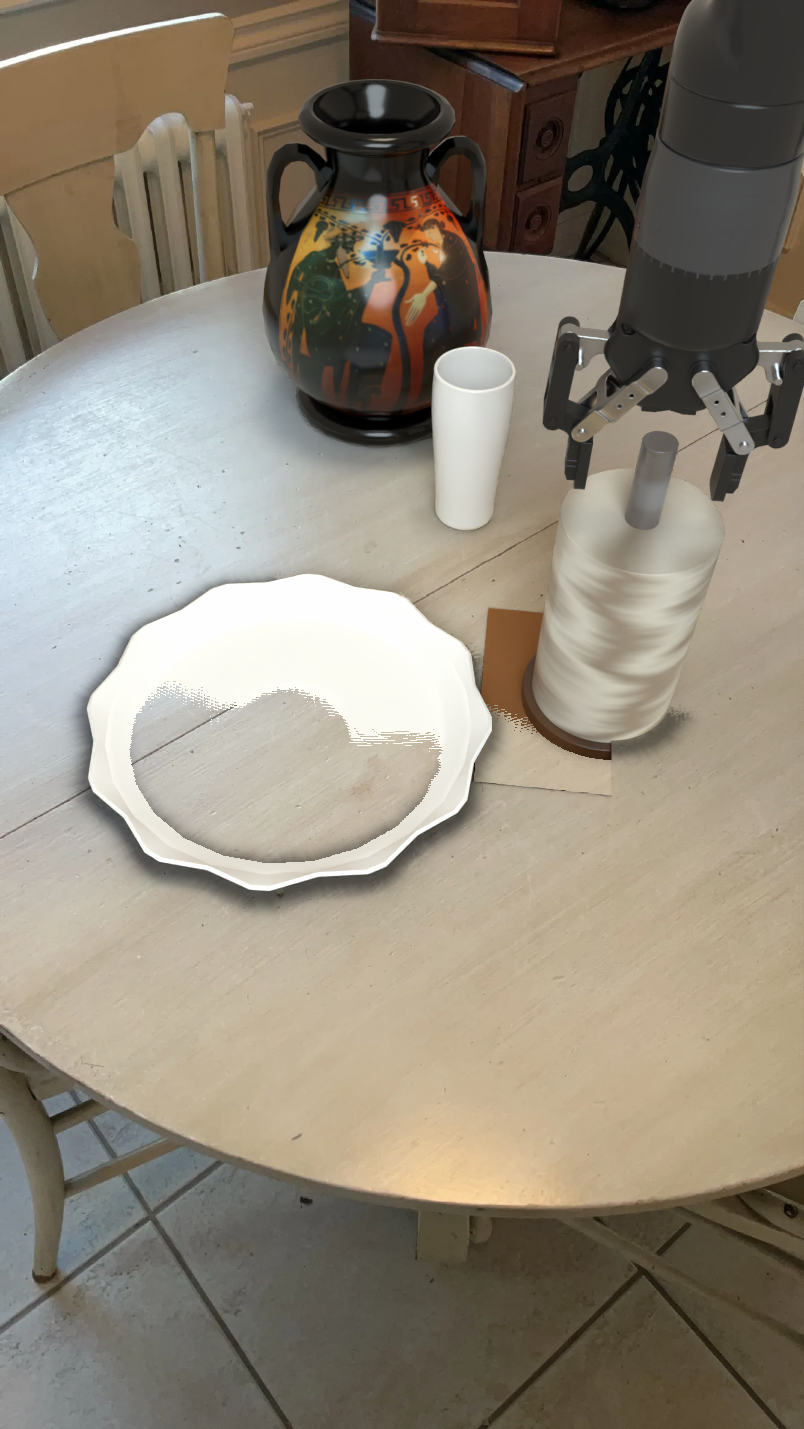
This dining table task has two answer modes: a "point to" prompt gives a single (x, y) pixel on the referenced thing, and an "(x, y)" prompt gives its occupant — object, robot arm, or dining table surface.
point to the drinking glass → (470, 432)
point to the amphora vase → (374, 261)
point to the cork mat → (508, 659)
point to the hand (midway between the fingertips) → (647, 487)
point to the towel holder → (621, 602)
